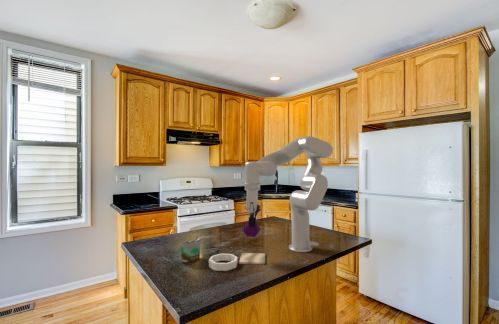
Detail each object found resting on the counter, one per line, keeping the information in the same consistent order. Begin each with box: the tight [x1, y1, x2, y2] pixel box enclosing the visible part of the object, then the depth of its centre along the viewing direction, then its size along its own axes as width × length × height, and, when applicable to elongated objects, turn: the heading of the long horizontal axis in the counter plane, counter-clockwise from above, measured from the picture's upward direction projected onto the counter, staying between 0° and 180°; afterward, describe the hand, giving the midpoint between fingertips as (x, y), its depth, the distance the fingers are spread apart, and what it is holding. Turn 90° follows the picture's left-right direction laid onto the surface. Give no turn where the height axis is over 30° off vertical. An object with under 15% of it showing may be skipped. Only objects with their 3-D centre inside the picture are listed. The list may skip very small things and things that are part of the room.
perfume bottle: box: [242, 203, 262, 238], centre depth 124 cm, size 8×8×18 cm
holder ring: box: [208, 253, 238, 272], centre depth 117 cm, size 12×12×3 cm
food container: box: [179, 236, 203, 265], centre depth 122 cm, size 12×6×10 cm, turn 148°
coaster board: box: [238, 252, 266, 265], centre depth 124 cm, size 12×12×1 cm
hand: (252, 224), depth 124 cm, fingers closed on perfume bottle, 5 cm apart
